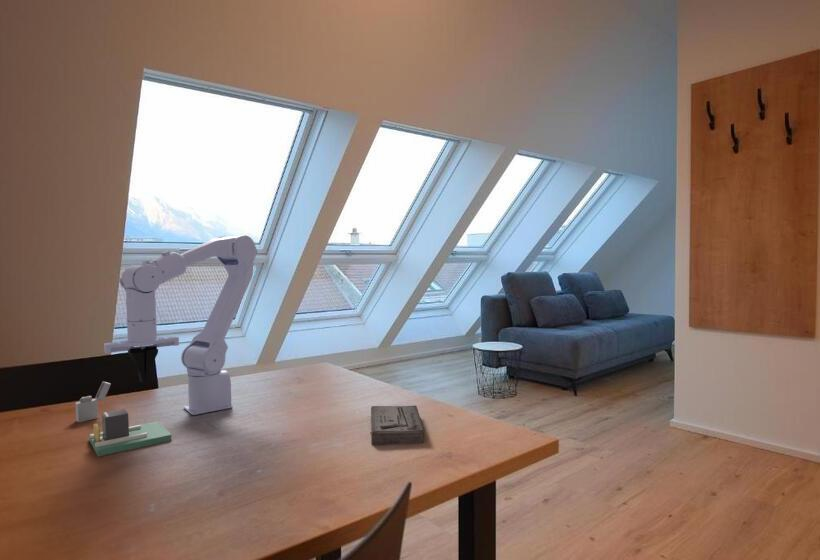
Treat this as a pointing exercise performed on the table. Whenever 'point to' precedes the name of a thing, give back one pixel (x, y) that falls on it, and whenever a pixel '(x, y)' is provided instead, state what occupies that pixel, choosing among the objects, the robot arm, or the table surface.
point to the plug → (115, 424)
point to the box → (396, 425)
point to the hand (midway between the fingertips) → (144, 381)
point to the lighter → (90, 404)
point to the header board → (129, 438)
